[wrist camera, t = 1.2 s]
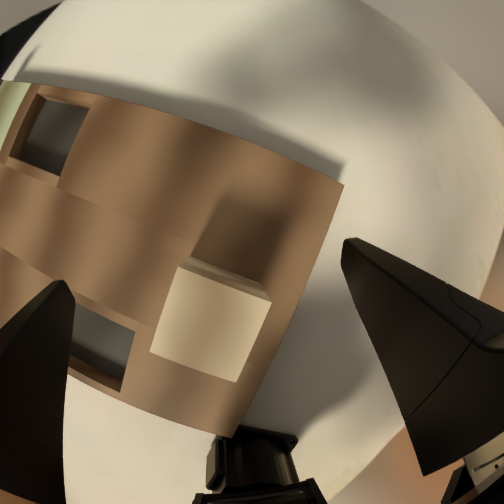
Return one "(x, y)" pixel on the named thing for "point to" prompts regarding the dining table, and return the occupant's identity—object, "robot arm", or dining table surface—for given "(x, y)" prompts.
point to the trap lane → (149, 236)
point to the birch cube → (210, 319)
